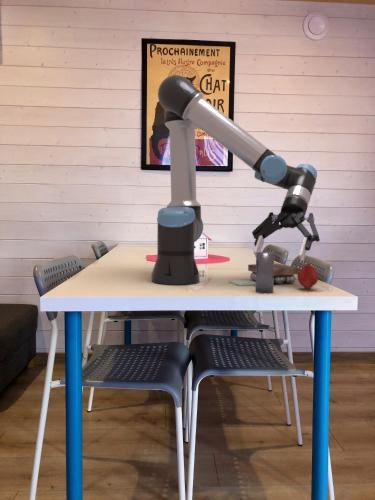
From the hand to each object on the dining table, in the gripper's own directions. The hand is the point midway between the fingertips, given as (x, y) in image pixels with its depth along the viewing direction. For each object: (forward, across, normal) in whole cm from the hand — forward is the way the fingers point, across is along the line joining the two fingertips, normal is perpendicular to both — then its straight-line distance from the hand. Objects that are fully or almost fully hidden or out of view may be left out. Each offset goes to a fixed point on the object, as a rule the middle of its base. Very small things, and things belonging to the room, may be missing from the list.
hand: (277, 256), depth 132 cm
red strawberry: (+4, -7, -11) cm, 13 cm away
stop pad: (+4, +12, -9) cm, 16 cm away
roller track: (-2, +6, -16) cm, 17 cm away
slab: (-4, +6, -13) cm, 15 cm away
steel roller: (+11, +2, -3) cm, 11 cm away
